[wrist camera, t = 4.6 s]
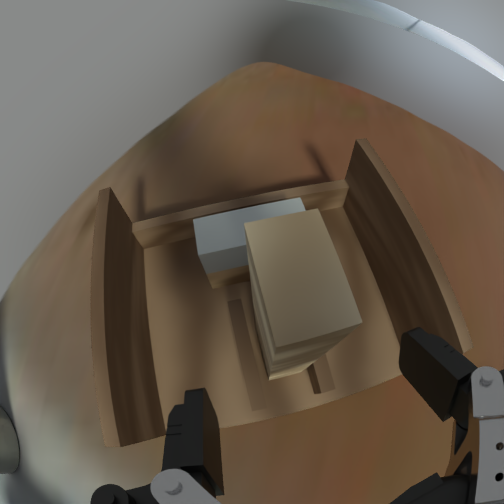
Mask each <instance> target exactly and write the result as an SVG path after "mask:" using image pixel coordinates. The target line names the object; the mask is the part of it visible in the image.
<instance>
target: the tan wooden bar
mask: <svg viewBox="0 0 504 504" xmlns="http://www.w3.org/2000/svg"><path fill="white" fill-rule="evenodd" d="M244 228H245V237H246V246H247V255H248V263H249V272H250V280H251V289H252V297H253V306H254V314H255V323H256V331H257V336H258V340H259V344H260V348H261V352H262V356H263V360H264V364H265V368H266V372H267V376H268V380H273V379H277V378H281V377H285V376H289V375H293V374H296V373H300V372H302V371H303V370H304V369H306V368H307V367H308V366H310V365H311V364H312V363H314V362H315V361H316V360H318V359H319V358H320V357H321V356H323V355H324V354H325V353H327V352H328V351H329V350H330V349H332V348H333V347H334V346H335V345H337V344H338V343H339V342H340V341H341V340H343V339H344V338H345V337H346V336H347V335H349V334H350V333H351V332H352V331H353V330H355V329H356V328H357V327H358V326H359V325H360V324H361V323H363V322H362V319H361V316H360V313H359V311H358V308H357V305H356V302H355V299H354V297H353V294H352V291H351V289H350V286H349V283H348V281H347V278H346V275H345V273H344V270H343V268H342V265H341V262H340V260H339V257H338V255H337V252H336V250H335V247H334V245H333V243H332V240H331V238H330V235H329V233H328V231H327V228H326V226H325V224H324V221H323V219H322V217H321V214H320V212H319V210H318V208H317V209H312V210H307V211H302V212H297V213H292V214H287V215H282V216H277V217H272V218H267V219H262V220H257V221H252V222H248V223H244Z"/></svg>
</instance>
